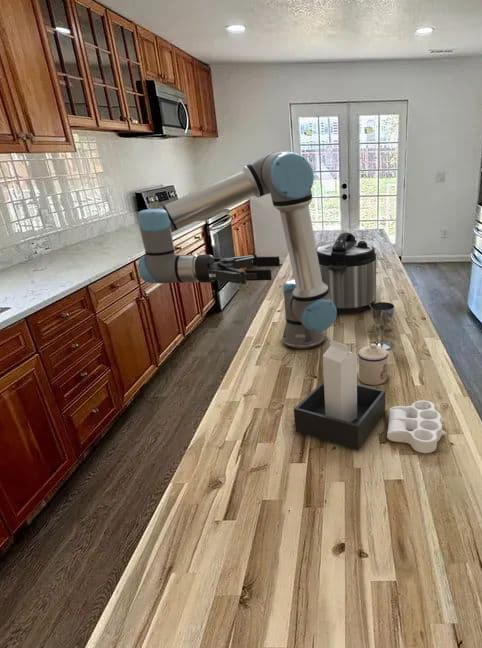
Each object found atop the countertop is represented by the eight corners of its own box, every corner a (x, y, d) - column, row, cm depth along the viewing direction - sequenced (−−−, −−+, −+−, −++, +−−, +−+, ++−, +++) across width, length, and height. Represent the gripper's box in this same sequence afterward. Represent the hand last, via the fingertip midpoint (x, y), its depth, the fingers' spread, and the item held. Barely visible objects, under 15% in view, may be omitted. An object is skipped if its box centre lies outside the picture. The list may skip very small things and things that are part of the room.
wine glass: (396, 343, 157) (398, 304, 151) (386, 352, 151) (387, 311, 145) (377, 339, 161) (377, 300, 155) (366, 347, 155) (366, 307, 149)
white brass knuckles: (390, 408, 120) (444, 412, 118) (386, 450, 104) (448, 455, 102) (390, 398, 118) (445, 401, 116) (386, 438, 102) (450, 443, 100)
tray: (328, 398, 125) (327, 377, 122) (385, 412, 118) (385, 390, 115) (295, 431, 111) (293, 408, 108) (358, 450, 104) (357, 426, 101)
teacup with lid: (386, 386, 130) (387, 351, 125) (356, 385, 131) (356, 350, 126) (388, 367, 141) (389, 335, 136) (360, 366, 142) (360, 333, 137)
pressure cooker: (347, 290, 214) (346, 224, 200) (391, 304, 195) (393, 232, 181) (299, 306, 195) (294, 234, 181) (342, 322, 176) (340, 244, 163)
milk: (342, 428, 110) (340, 351, 101) (325, 419, 114) (321, 343, 104) (357, 418, 114) (357, 342, 105) (340, 409, 118) (338, 335, 108)
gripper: (214, 269, 132) (283, 268, 131) (184, 296, 110) (268, 295, 109) (210, 245, 129) (281, 243, 128) (179, 267, 106) (265, 266, 106)
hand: (275, 267), depth 118 cm, fingers open, 13 cm apart
